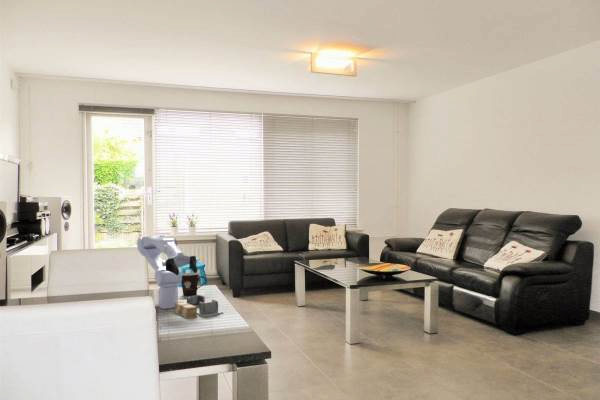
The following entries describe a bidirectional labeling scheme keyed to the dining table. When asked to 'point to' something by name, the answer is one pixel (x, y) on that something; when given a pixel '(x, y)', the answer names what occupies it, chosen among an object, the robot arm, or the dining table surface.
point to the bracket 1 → (195, 300)
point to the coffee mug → (190, 283)
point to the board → (208, 314)
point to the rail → (186, 309)
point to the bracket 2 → (208, 307)
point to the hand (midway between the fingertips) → (187, 271)
